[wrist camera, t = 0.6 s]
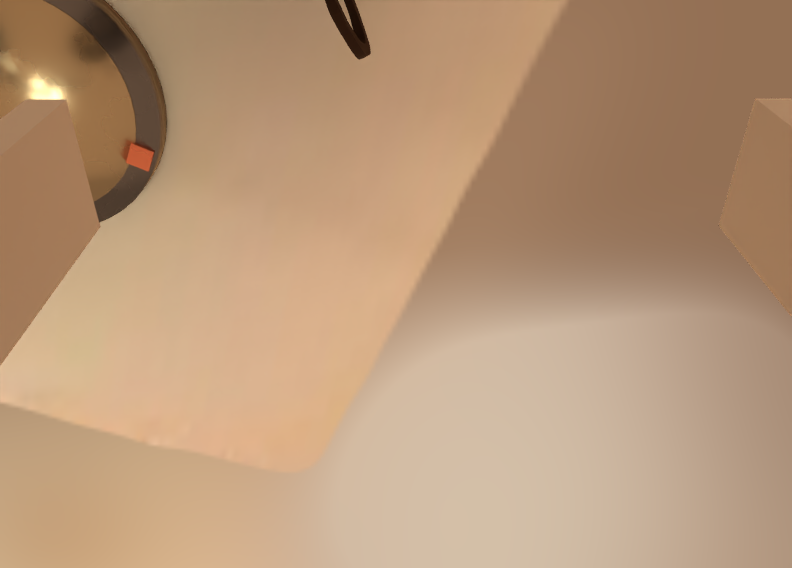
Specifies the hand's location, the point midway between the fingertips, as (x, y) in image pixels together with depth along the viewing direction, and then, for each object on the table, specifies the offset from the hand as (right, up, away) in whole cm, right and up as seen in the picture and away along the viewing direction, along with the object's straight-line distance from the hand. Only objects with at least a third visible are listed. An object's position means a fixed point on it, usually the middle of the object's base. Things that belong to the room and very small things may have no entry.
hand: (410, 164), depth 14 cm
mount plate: (-19, +7, +23) cm, 30 cm away
